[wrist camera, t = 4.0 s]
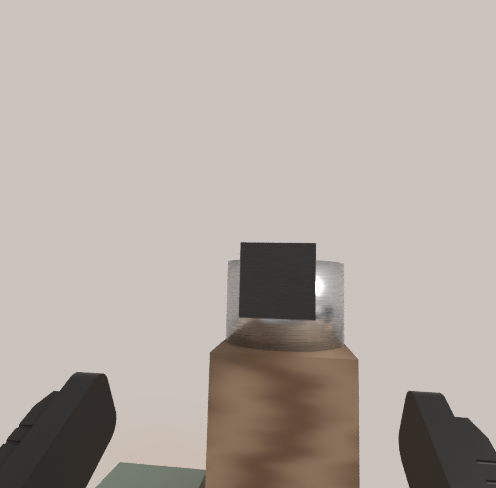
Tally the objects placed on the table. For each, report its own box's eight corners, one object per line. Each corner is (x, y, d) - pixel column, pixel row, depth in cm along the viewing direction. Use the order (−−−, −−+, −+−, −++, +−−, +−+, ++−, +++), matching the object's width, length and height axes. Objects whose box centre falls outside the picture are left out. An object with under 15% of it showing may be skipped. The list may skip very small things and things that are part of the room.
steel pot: (335, 334, 31) (335, 266, 32) (424, 434, 11) (419, 236, 11) (235, 330, 32) (237, 265, 33) (138, 413, 12) (148, 234, 12)
